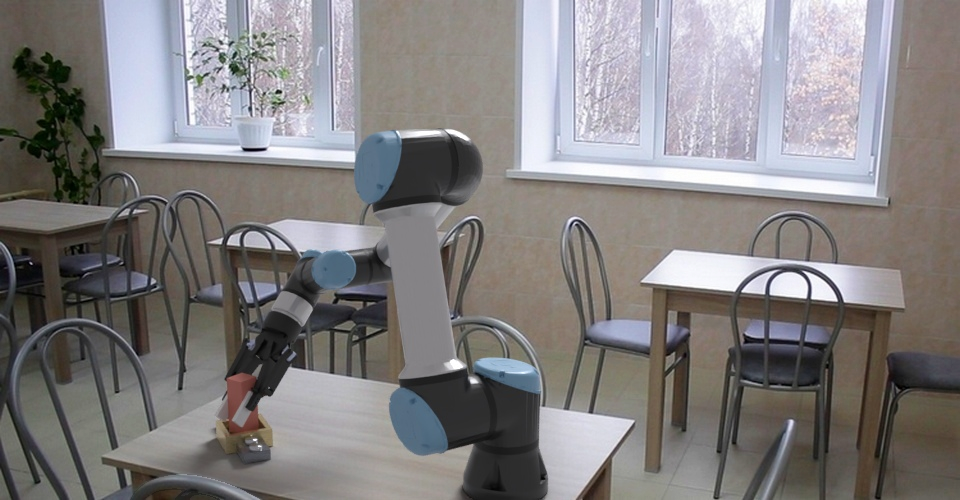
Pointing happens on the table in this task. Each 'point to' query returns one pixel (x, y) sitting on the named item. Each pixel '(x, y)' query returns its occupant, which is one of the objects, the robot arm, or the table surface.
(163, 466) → the table surface
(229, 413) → the link pin
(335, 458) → the table surface
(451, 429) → the robot arm
